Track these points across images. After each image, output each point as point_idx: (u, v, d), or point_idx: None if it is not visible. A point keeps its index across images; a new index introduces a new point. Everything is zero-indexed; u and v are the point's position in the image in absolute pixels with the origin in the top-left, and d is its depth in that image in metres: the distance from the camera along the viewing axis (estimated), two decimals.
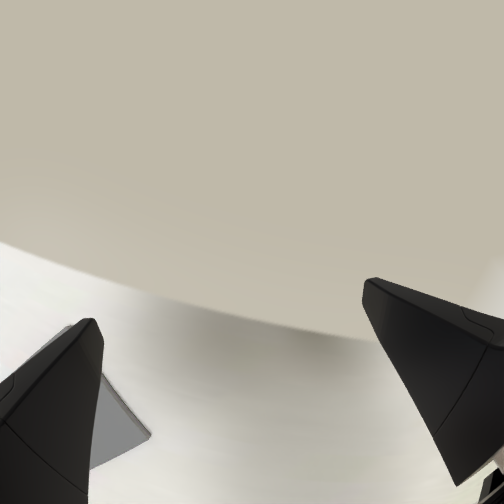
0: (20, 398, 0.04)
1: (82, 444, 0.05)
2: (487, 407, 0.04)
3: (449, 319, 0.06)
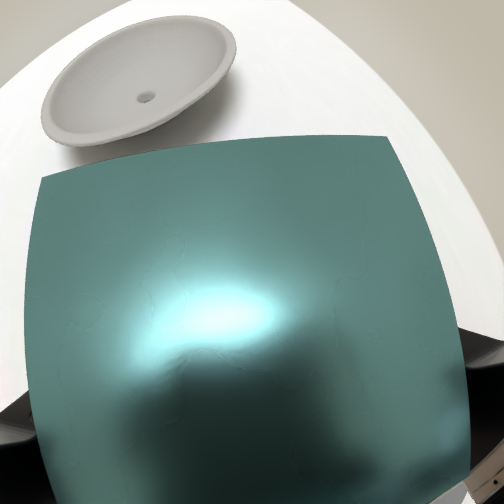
0: None
1: None
2: None
3: None
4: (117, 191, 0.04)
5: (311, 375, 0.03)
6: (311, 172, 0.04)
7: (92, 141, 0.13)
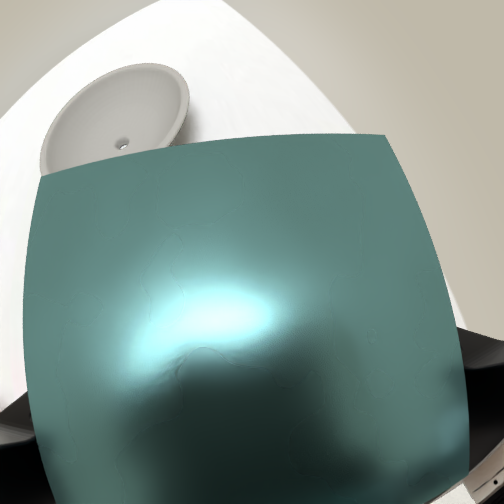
0: None
1: None
2: None
3: None
4: (115, 190, 0.04)
5: (308, 373, 0.03)
6: (308, 170, 0.04)
7: None
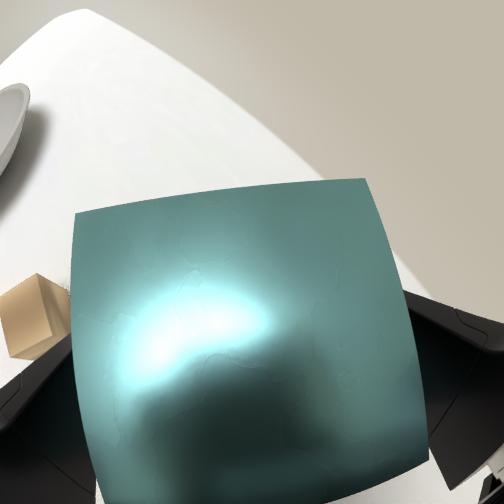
0: (28, 399, 0.04)
1: None
2: (480, 412, 0.04)
3: (442, 322, 0.06)
4: (145, 231, 0.05)
5: (294, 372, 0.05)
6: (298, 216, 0.06)
7: None
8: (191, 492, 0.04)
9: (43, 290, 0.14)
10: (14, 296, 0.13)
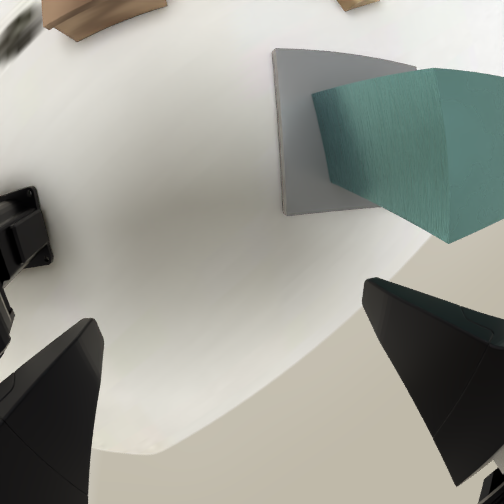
0: (20, 398, 0.04)
1: (82, 444, 0.06)
2: (487, 407, 0.04)
3: (449, 319, 0.06)
4: None
5: (489, 169, 0.08)
6: None
7: None
8: (457, 119, 0.07)
9: None
10: None
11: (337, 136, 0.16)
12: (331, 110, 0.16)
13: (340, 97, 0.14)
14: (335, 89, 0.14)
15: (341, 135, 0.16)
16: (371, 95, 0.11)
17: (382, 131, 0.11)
